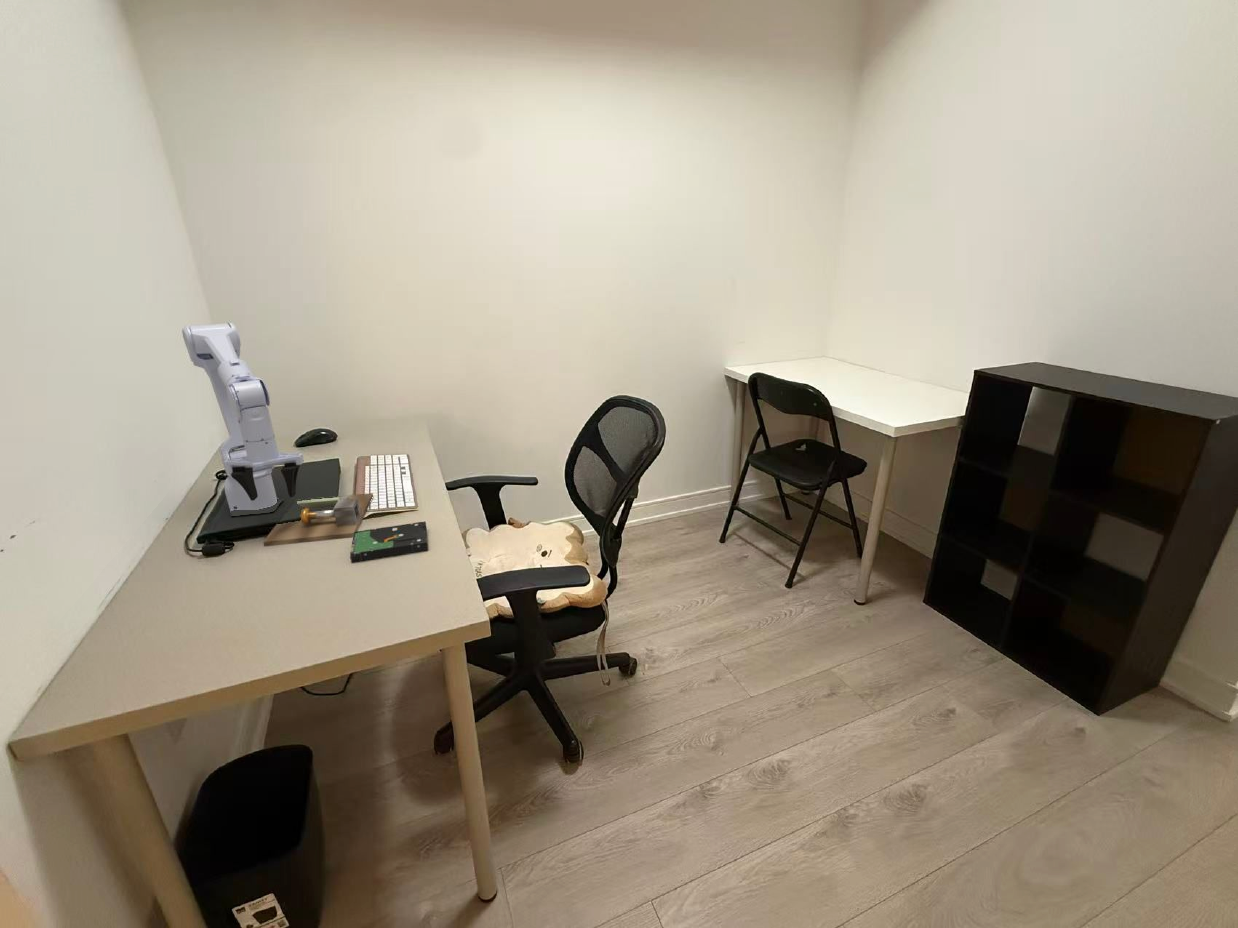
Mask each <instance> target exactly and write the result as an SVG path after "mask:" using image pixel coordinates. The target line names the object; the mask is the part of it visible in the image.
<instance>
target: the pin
mask: <svg viewBox="0 0 1238 928" xmlns="http://www.w3.org/2000/svg"><path fill="white" fill-rule="evenodd" d="M300 517H301V521H302V523H303V524H308V523H311V520H312V519H322V518H333V517H335V514H334V510H322V511H311V510H310V509H309V508H305V509H302V510H301V514H300Z"/></svg>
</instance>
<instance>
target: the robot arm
mask: <svg viewBox="0 0 1238 928" xmlns="http://www.w3.org/2000/svg"><path fill="white" fill-rule="evenodd" d="M181 331H182V332H181V333H182V338H183V341H184V345H185V347H186V350H187V352H188V356H189V359H190V361H191V363H192V364H193V366H195V367H198V368H201V369H204V372H205V373H206V374H207V377H208V378H209V380H210V383H211V387H212V389H213V392H214V395H215V397H216V400H217V404H218V406H219V410H220V413H221V416H222V419H223V421H224V425H225V427H226V430H227V433H228V436H229V437H228V438H227V439H226V440H224V442H222V444H221V445H220V448H219V452H220V453H219V454H220V456H221V461H222V465H223V468H224V471H225V473H226V475H227V477H226V479H225V481H224V493H225V498H226V500H227V504H228V507H229V510H230V512H231V511H233V510H259V509H263V508H267V507H271V506H273V505H275V504H276V503H277V499H278V497H277V493H276V489H275V486H274V482H273V478H272V477H273V476H272V474H271V473H273V469H275V467H276V466H283V467H282V468H281V469H280V472H281V474H282V475H283V476H282V477H283V478H284V481H285V485H286V488H287V493H288V497H289V498H294V497H295V495H296V492H297V490H296V489H297V487H296V486H297V479H298V474H299V470H300V467H301V465H302V464H303V463H304V455H303V453H300V452H299V453H290V452H289V453H285V452H279V449H278V445H277V441H276V436H275V433H274V427H273V424H272V419H271V414H270V410H269V407H270V406H271V401H270V393H269V390H268V388H267V386H266V384H265V381H264V380H263V378H261V377H259V376H258V377H257V376H255V374H254V372H253V371H252V369H251V367H250V366H249V364H248V362H247V361H245V360H243V359H241V358H240V356H241V345H242V344H241V338H240V335H239V332H238V328H237V326H236V325H235V324H234V323H232V322H227V323H226V322H225V323H215V324H204V325H193V326H192V325H190V326H188V325H184V326H183V328H182V330H181ZM235 507H237V508H235Z"/></svg>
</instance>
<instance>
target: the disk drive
mask: <svg viewBox="0 0 1238 928" xmlns="http://www.w3.org/2000/svg"><path fill="white" fill-rule="evenodd" d="M427 528H428V527H427V523H426V521H418V522H412V523H406V524H405V523H404V524H397V525H393V526H391V525H390V526H385V527H377V528H371V529H364V530H357V532H354V535H353V537H352V540H351V545H350V546H351V547H350V552H349V558H350V562H351V564H355V563H357V564H358V563H363V562H369V561H374V560H380V559H386V558H392V557H393V558H394V557H399V556H406V555H411V554H418V553H422V552H428V550H429V547H428V530H427Z"/></svg>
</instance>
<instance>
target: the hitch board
mask: <svg viewBox="0 0 1238 928" xmlns="http://www.w3.org/2000/svg"><path fill="white" fill-rule="evenodd" d="M336 496H337V497H340V498H341V499H342V500H338V502H337V503H336V505H335V507H334V508H333V510H334V514H335V517H333V518H322V519H312V520H311V523H308V524H303V523H302V521H301V520H300V521H295V522H288V523H283V524H277V523H276V525H275V526H274V527H273V528H272V529H271V531H270V532H269V533H268V535H267V536H266V538H265V539H264V540H263V542H262V543H263V546H264V547H268V546H278V545H288V544H299V543H308V542H316V541H317V542H319V541H326V540H337V539H346V538H347V539H348V538H353V535H354V532H357V531H359V528H360V526H361V524H362V521H363V520H364V518H365V515H366V513H367V511H368V509H369V507H370V505H369V503H370V501H371V502H372V500H373V498H374V493H372V492H370V493H361V494H347V495H336ZM332 497H333V498H336V497H335V496H332ZM372 497H373V498H372ZM321 498H322V499H324V497H321ZM310 499H311V500H313V498H310ZM371 499H372V500H371ZM370 504H371V503H370ZM368 506H369V507H368ZM367 508H368V509H367Z"/></svg>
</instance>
